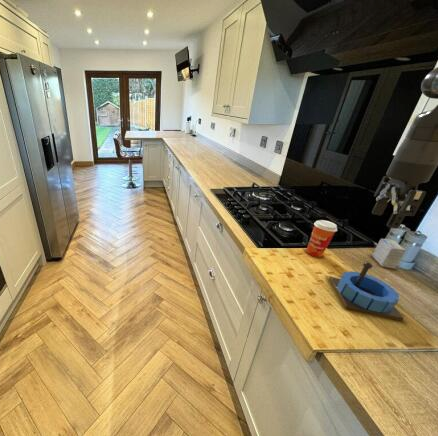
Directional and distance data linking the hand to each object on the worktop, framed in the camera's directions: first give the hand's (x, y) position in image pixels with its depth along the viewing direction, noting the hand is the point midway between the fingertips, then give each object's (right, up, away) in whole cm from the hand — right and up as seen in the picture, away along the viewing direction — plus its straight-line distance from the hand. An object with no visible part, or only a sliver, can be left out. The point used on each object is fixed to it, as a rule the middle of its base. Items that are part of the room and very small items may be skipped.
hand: (383, 220), depth 63 cm
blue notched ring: (+6, -24, +12) cm, 27 cm away
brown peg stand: (+6, -25, +13) cm, 29 cm away
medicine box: (+31, -17, +31) cm, 47 cm away
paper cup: (+6, -14, +35) cm, 38 cm away
